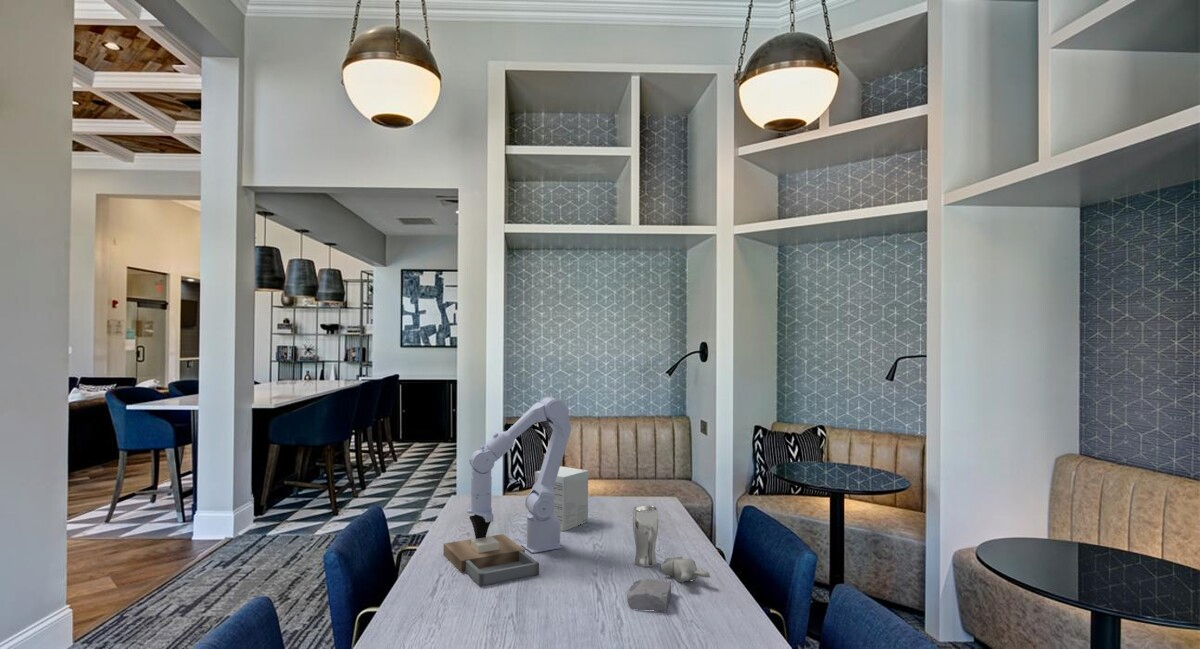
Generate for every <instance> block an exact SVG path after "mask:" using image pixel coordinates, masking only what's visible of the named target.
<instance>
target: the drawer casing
mask: <svg viewBox="0 0 1200 649" xmlns="http://www.w3.org/2000/svg"><path fill="white" fill-rule="evenodd" d="M491 536H492V537H493V538H494V539H496V540H497V541H498V542H499V550H494V551H488V552H482V553H478V552H476V551H475V550H474V549H473V548H472V547H471V539H472V538H470V539H463V540H457V541H452V542H446V543H443V552H442V553H443V555H444V556H445V557H446V558H447V559H448V561H449V562H450V563H452V565H453V566H454V567H455V568H456V570H458V571H459V572H460V573H466V572H465V571H466V561H467V560H470V561H471V562H472V563H473V564H474V565H475V566H476V567H477V568H484V567H489V566H495V565H500V564H505V563H511V562H516V561H519V551H523V552H524V553H526V552H525V551H526V549H525V548H524V547H523V546H520V545H519V544H517V543H516V542H515V541H513V540H512V539H511V538H510V537H508V536H506V535H505V534H496V535H489V536H487V537H491Z"/></svg>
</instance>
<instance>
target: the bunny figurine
mask: <svg viewBox="0 0 1200 649" xmlns="http://www.w3.org/2000/svg"><path fill="white" fill-rule="evenodd" d="M660 566H661V567H660V568H661V569H660V570H661V574H662V575H666V576H671V577H675V578H674V580H675V579H676V580H677V581H676V580H675V581H676V582H679V583H680V582H683V583H684V582H686V581H689V580H697V578H698V576H700V577H703V578H705V579H706V578H711V576H710V572H709V571H708V570H700V569H698V567H697V564H696V561H695V560H694V559H692V558H684V557H683V556H677V557H668V558H665V560H664V561H663V563H662V564H660Z"/></svg>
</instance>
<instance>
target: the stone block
mask: <svg viewBox="0 0 1200 649" xmlns="http://www.w3.org/2000/svg"><path fill="white" fill-rule="evenodd" d="M671 594H672V582H671V581H670V580H669V581H667V580H666V581H665V580H662V579H657V578H644V579H639V580H636V581H633V582H632V584H631V586H630V587H629V589H628V592H626V599H627V604H628V606H629V608H630V609H631V610H633V609H638V610H637V611H639V610H654V611H666V612H667V611H668V606H669V602H670V599H671V598H670V597H671ZM654 611H653V612H654Z"/></svg>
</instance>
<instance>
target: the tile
mask: <svg viewBox="0 0 1200 649" xmlns="http://www.w3.org/2000/svg"><path fill="white" fill-rule="evenodd" d="M490 536H491V537H488V536H486V537H484V538H478V539H476V538H470V539H471V547H472V548H473V549H474V550H475V551H476V552H478V553H482V552H488V551H494V550H499V542H498V541H497V540H496V539H494V538H493V537H492V536H493V535H490Z"/></svg>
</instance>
